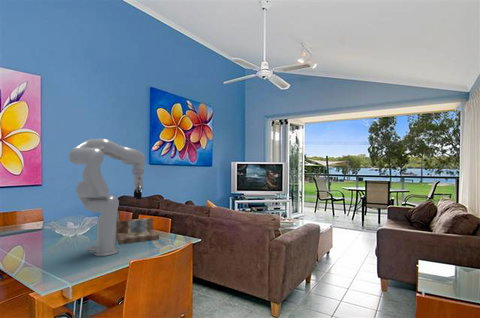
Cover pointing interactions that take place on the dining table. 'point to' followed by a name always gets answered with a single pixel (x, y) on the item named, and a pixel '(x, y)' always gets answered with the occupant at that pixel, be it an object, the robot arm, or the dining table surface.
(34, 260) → the dining table surface
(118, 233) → the walnut ledge
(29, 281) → the dining table surface
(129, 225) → the picture frame
